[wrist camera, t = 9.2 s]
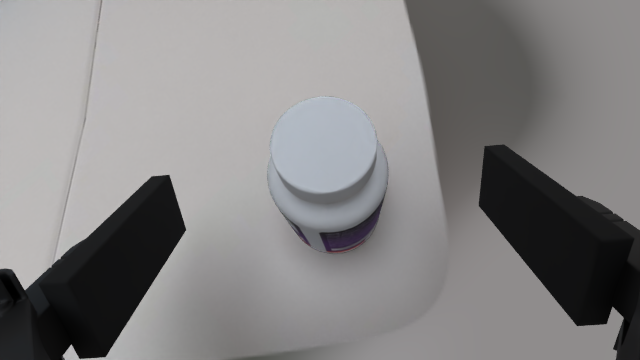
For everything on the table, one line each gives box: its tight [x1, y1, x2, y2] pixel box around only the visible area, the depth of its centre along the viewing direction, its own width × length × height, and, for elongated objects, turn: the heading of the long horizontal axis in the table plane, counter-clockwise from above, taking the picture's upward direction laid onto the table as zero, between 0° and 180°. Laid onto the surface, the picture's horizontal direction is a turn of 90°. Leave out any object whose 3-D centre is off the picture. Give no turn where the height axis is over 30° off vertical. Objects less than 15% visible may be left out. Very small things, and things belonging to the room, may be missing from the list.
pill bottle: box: [267, 96, 388, 253], centre depth 17 cm, size 5×5×10 cm
